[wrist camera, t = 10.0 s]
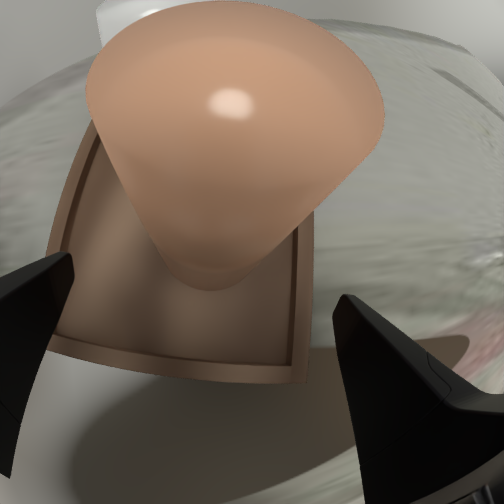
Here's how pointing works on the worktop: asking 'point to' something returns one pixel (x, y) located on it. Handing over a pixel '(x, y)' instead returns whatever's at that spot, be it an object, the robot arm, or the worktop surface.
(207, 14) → the peach tapered cylinder
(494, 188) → the worktop surface
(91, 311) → the walnut tray
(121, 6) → the white rounded cylinder
